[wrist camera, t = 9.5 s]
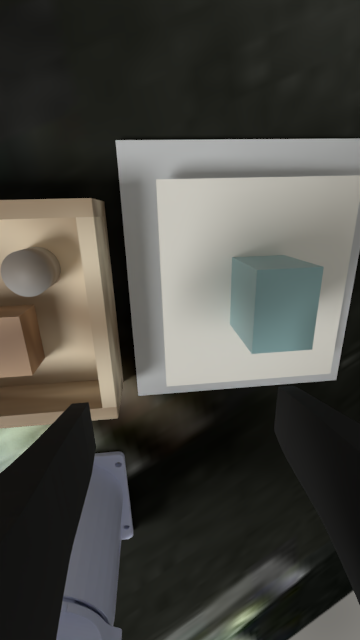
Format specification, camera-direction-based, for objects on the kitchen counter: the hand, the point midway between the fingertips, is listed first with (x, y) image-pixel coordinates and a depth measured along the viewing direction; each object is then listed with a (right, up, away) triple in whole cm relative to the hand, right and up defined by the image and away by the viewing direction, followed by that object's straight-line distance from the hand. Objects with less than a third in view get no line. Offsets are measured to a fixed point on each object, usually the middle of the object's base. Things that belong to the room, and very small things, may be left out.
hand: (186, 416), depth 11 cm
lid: (+4, +6, +8) cm, 11 cm away
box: (-10, +5, +7) cm, 13 cm away
